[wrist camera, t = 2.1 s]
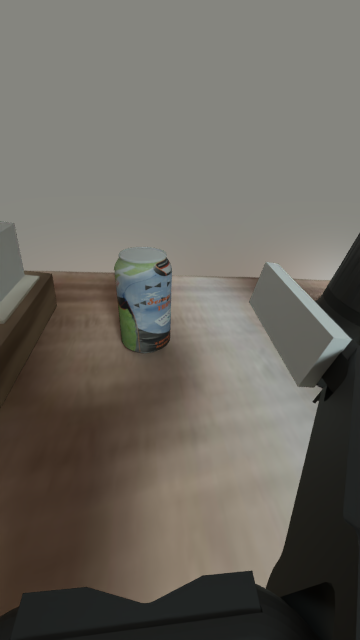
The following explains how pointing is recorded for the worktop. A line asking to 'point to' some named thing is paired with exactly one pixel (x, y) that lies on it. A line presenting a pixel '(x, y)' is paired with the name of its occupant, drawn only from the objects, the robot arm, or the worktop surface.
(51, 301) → the riser
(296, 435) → the worktop surface
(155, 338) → the beverage can
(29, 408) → the worktop surface
